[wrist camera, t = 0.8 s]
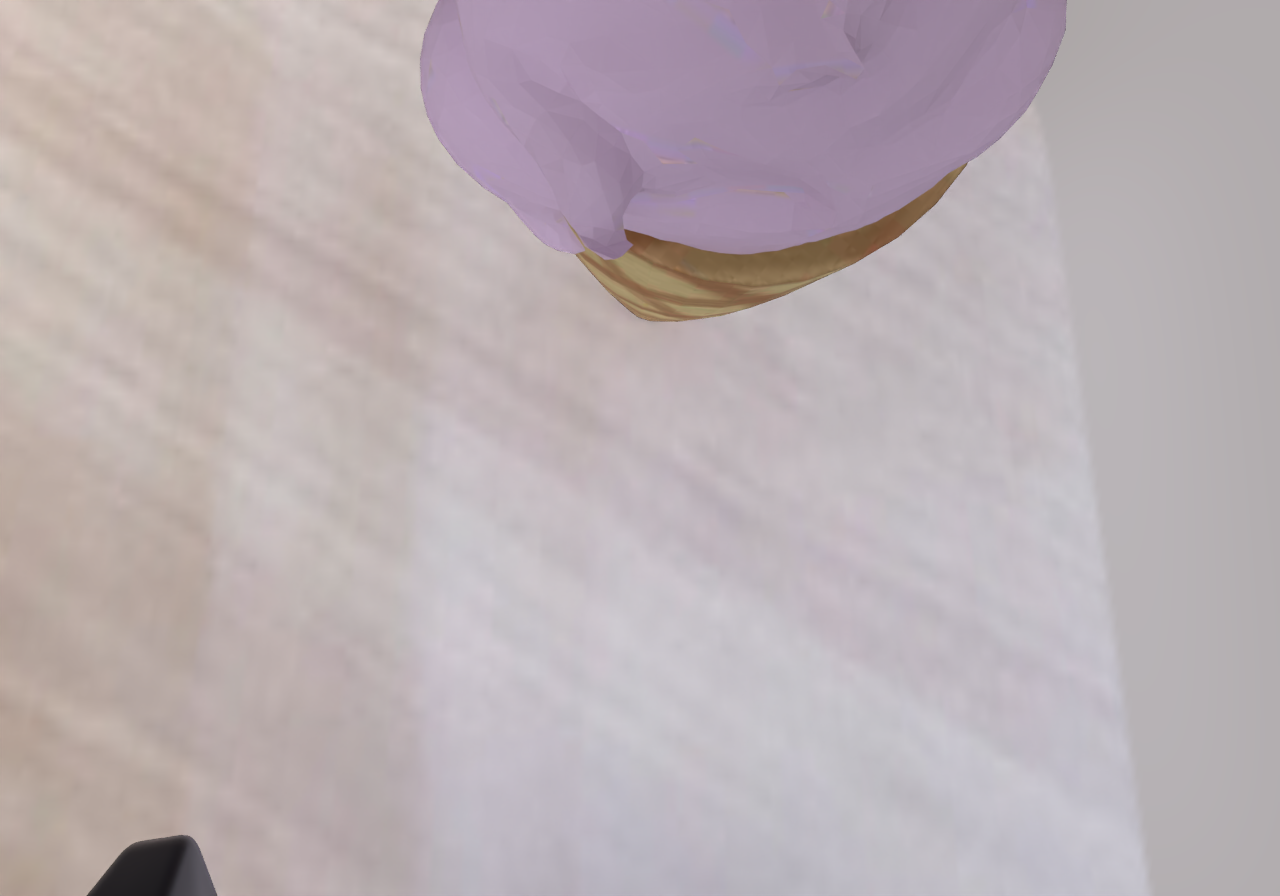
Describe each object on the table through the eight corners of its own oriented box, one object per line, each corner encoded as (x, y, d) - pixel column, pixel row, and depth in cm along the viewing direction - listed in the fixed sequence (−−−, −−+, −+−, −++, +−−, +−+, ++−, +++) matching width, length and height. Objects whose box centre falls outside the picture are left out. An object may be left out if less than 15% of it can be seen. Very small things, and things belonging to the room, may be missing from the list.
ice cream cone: (634, 519, 22) (847, 303, 7) (407, 303, 22) (139, -358, 7) (854, 286, 23) (1443, -327, 8) (636, 84, 23) (817, -875, 8)
